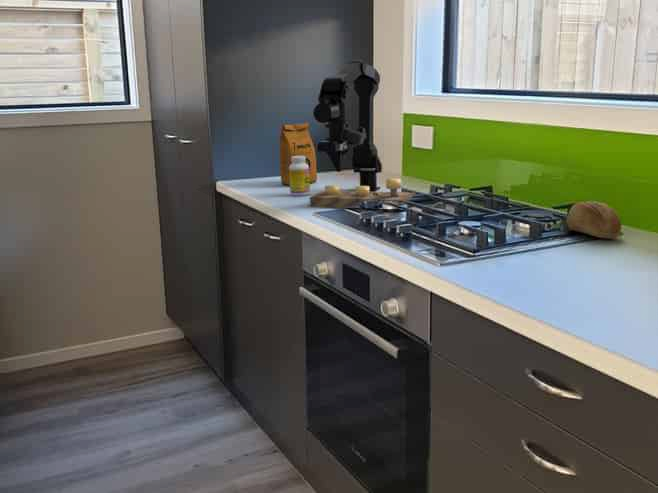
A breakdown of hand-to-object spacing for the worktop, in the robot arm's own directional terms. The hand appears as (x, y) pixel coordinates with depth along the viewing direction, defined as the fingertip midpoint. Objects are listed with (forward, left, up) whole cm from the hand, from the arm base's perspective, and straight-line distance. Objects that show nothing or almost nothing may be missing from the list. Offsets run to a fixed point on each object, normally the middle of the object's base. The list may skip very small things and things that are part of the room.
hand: (339, 171), depth 212 cm
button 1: (0, -3, -10) cm, 10 cm away
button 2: (0, +17, -7) cm, 19 cm away
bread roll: (+24, +75, -10) cm, 79 cm away
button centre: (0, +7, -10) cm, 12 cm away
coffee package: (-32, -30, -10) cm, 45 cm away
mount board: (0, +7, -10) cm, 12 cm away
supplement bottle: (-12, -20, -10) cm, 25 cm away
